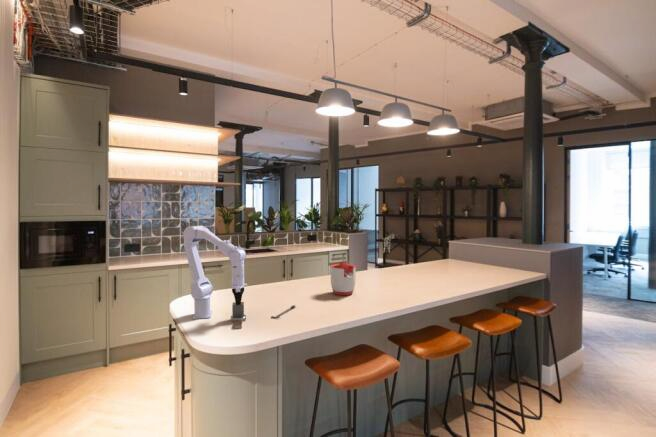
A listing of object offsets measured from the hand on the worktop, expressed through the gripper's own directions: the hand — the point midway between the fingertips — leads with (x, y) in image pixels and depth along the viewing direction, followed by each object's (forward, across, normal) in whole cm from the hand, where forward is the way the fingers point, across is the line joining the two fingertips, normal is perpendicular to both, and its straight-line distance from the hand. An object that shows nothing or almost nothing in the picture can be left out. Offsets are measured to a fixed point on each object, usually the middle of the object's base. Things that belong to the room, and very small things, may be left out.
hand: (238, 303), depth 170 cm
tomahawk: (+8, +6, -24) cm, 26 cm away
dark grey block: (+6, 0, 0) cm, 6 cm away
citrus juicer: (+8, +36, -62) cm, 72 cm away
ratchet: (+8, -4, 0) cm, 9 cm away
